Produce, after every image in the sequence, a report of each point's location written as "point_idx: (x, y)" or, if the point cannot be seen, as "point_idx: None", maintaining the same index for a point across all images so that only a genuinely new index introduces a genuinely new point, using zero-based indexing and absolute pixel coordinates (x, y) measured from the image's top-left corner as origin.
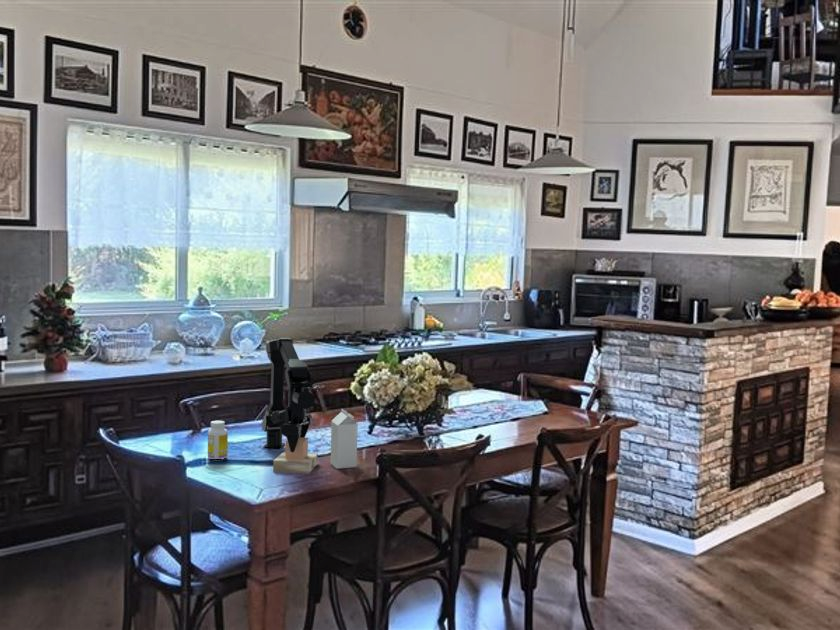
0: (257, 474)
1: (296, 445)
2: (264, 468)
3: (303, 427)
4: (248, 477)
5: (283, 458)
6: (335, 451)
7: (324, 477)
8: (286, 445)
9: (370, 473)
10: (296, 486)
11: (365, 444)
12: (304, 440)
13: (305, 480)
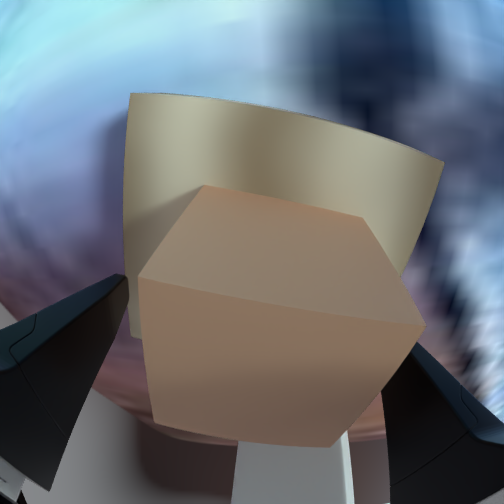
0: (96, 25)
1: (99, 361)
2: (226, 24)
3: (420, 501)
4: (52, 9)
5: (211, 167)
6: (260, 451)
7: (123, 349)
8: (159, 252)
9: (209, 441)
10: (4, 253)
11: (497, 405)
12: (229, 435)
13: (63, 283)
